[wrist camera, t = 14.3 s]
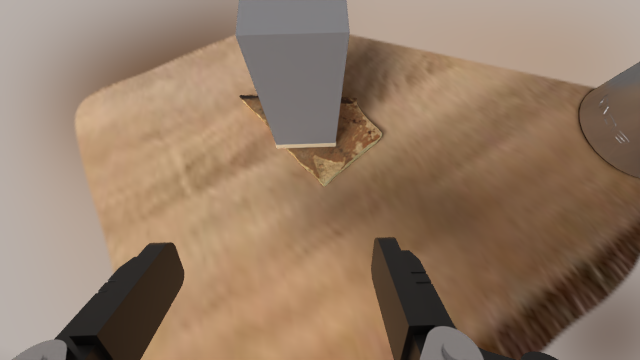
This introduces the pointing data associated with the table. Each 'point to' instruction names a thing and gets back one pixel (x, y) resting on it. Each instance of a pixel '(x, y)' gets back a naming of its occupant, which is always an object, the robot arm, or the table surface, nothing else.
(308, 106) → the sanding block
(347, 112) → the shard
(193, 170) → the table surface
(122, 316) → the robot arm
